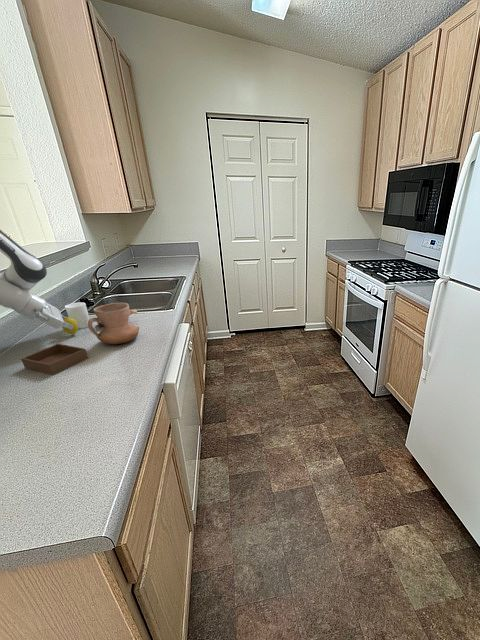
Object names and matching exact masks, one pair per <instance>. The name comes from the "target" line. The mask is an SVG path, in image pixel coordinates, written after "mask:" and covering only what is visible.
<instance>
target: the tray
mask: <svg viewBox="0 0 480 640" xmlns="http://www.w3.org/2000/svg"><path fill="white" fill-rule="evenodd" d="M88 359H89V355H88V352H87V350H86V348H85V347H84V348H82V347H78V346H72V345H67V344H62V343H56V344H53V345H50V346H48V347H46V348H44V349H41V350H38V351H37V352H33V353H32V354H28V355H26V356H24V357H22V358H21V357H20V360H21V363H22V365H23V367H24V369H27V370H30V371H35V372H39V373H43V374H47V375H52V376H54V375H56V374H58V373H61V372H63V371H64V370H67V369H69V368H70V367H73V366H75V365H78V364H79V363H81V362H83V361H85V360H88Z"/></svg>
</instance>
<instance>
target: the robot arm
mask: <svg viewBox="0 0 480 640" xmlns="http://www.w3.org/2000/svg"><path fill="white" fill-rule="evenodd" d="M0 253H2V254H3V255H4V256H5V257H6V258H8V259H9V261H10V265H9V266H8V267H7V268H6V269H5V270H4V271H5V272H4V271H2V272H0V307H1V306H2V307H3V308H6V309H10V310H13V311H14V312H16V313H18V314H19V315H22V316H24V317H27V318H28V319H31V320H34V319H38V320H39V321H40V322H42V323H44V324H46V325H48V326H51V327H52V328H55V329H58V330H59V329H61V328H62V327H66V328H69V329H73V327H74V326H73V325H72V324H70V323H67V322H65V321H63V320H64V319H65V318H66V317H67V316H64V314H62V313H61V310H60V309H59V308H57V307H56V306H54V305H53V304H50V303H49V302H47V301H46V300H45V299H43V298H42V297H40V296H37V295H36V294H34V293H32V292H30V291H31V290H32V289H33V288H34V287H35V286H36V285H37V284H38V283H40V282H41V281H42V280H44V279H45V278H46V277H47V273H48V270H47V267H46V266H45V264H44V263H43V261H42V260H41V259H40V258H38V257H36V256H35V255H33V254H31V253H30V252H28V251H27V250H26V249H24V248H23V247H22V246H21V245H20V244H19V243H17V242H16V241H15V240H13V239H12V238H11V237H10V236H9V235H7V233H5V232H4V231H2V229H0Z"/></svg>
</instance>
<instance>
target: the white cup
mask: <svg viewBox="0 0 480 640" xmlns="http://www.w3.org/2000/svg"><path fill="white" fill-rule="evenodd" d="M64 308H65V311H66V313H67V317H68V318H72V319H74V320H75V321H76V322H77V324H78V330H81V329H85V328H88V321H89V320H90V316H89V311H88V307H87V304H86V303H85V302H84V301H83V302H81V301H78V302H71V303H68V304H66V305H65V306H64Z"/></svg>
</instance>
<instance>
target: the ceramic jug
mask: <svg viewBox="0 0 480 640" xmlns="http://www.w3.org/2000/svg"><path fill="white" fill-rule="evenodd" d="M93 312H94V314H95V316H96V317H92V318H91V317H90V318H89V321H88V327H87V328H88V330H89V331H90V333H92V334H93V335H94V336H95V337H96V338H97V340H99V341H100V342H102V343H103V344H107V345H121V344H126V343H128V342H131V341H133V340H134V339H135V338H137V337H138V335H139V332H140V326H139V325H138V326H137V325H135V324H133V323H131V322H129V317H131V315H132V314H136V315H137V314H138V310H137V309H131V310H130V305H129V303H127V302H112V303H107V304H103V305H99V306H96V307H94V308H93ZM97 322H99V323H102V324H103V325H104V326H103V328H101V330H100V331H99V333H98V332H96V331H95V329H94V328H93V323H97Z"/></svg>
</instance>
